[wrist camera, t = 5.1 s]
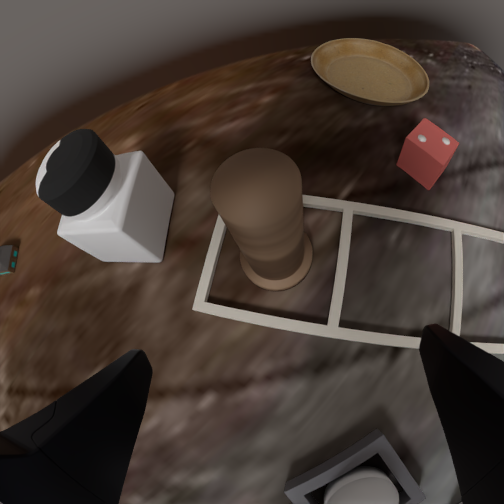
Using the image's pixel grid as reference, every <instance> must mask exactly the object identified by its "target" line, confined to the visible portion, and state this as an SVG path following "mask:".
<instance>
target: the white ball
mask: <svg viewBox="0 0 504 504" xmlns="http://www.w3.org/2000/svg"><path fill="white" fill-rule="evenodd" d="M324 504H399V494H398V491H397V489H396V487H395V486H394V484H393V483H392V481H391V480H390V479H389V477H388V476H387V474H386V473H385V472H384V471H382V470H381V469H379V468H376V467H373V466H358V467H355V468H353V469H352V470H350V471H348V472H347V473H345V474H343V475H341V476H340V477H338V478H336V479H334V480H333V481H331V482H330V483H329V484H328V486H327V487H326V489H325V492H324Z"/></svg>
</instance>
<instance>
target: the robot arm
mask: <svg viewBox="0 0 504 504" xmlns="http://www.w3.org/2000/svg"><path fill="white" fill-rule="evenodd" d="M419 351H420V355H421V359H422V362H423V366H424V370H425V373H426V377H427V381H428V385H429V389H430V392H431V395H432V398H433V401H434V403H435V406H436V409H437V412H438V415H439V418H440V421H441V424H442V427H443V430H444V433H445V436H446V439H447V443H448V446H449V449H450V453H451V456H452V460H453V464H454V467H455V471H456V475H457V479H458V483H459V488H460V492H461V496H462V497H461V498H462V503H463V504H504V362H503V361H502V360H500V359H498V358H496V357H495V356H493V355H491V354H490V353H488V352H486V351H484V350H483V349H481V348H479V347H477V346H476V345H474V344H472V343H470V342H468V341H467V340H465V339H463V338H461V337H460V336H458V335H456V334H454V333H452V332H451V331H449V330H447V329H445V328H443V327H442V326H440V325H438V324H431V325H426V326H425V327H424V329H423V333H422V337H421V341H420V346H419ZM151 378H152V367H151V365H150V362H149V360H148V358H147V356H146V354H145V352H144V351H143V350H138V349H132V350H130V351H129V352H127V353H126V354H124V355H123V356H121V357H120V358H118V359H117V360H115V361H114V362H112V363H111V364H110V365H108V366H107V367H105V368H104V369H102V370H101V371H99V372H98V373H96V374H95V375H93V376H92V377H90V378H89V379H87V380H86V381H84V382H83V383H81V384H80V385H78V386H77V387H75V388H74V389H72V390H71V391H69V392H68V393H66V394H65V395H63V396H62V397H60V398H59V399H57V401H54V402H53V403H51V404H50V405H48V406H47V407H45V408H44V409H42V410H40V411H39V412H37V413H35V414H34V415H32V416H30V417H28V418H26V419H25V420H23V421H21V422H19V423H17V424H15V425H13V426H11V427H10V428H8V429H6V430H4V431H1V432H0V504H119V500H120V496H121V492H122V488H123V484H124V481H125V477H126V473H127V470H128V466H129V463H130V459H131V455H132V452H133V449H134V445H135V442H136V438H137V435H138V432H139V428H140V425H141V422H142V419H143V415H144V412H145V408H146V403H147V398H148V393H149V388H150V383H151Z"/></svg>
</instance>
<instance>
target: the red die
mask: <svg viewBox="0 0 504 504" xmlns="http://www.w3.org/2000/svg"><path fill="white" fill-rule="evenodd" d="M458 145H459V143H458V142H457V141H456V140H455V139H453V138H452V137H451V136H449V135H448V134H447V133H446V132H444V131H443V130H441V129H440V128H439V127H437V126H436V125H435V124H433V123H432V122H430V121H429V120H427V119H426V118H424V119H423V120H422V121H421V122H420V123H419V124H418V125H417V127H416V128H415V129H414V130H413V131H412V132H411V133H410V134H409V135H408V136H407V137H406V139H405V142H404V145H403V148H402V150H401V153H400V156H399V159H398V161H397V164H396V165H397V166H398V167H400V168H401V169H402V170H404V171H405V172H406V173H407V174H409V175H410V176H411V177H413V178H414V179H415V180H416V181H418V182H419V183H420V184H421V185H422V186H424V187H425V188H426V189H427V190H428V191H429V190H430V189H431V187H432V186H433V185H434V183H435V182H436V181H437V179H438V178H439V177H440V175H441V174H442V172H443V171H444V170H445V168H446V166H447V165H448V163H449V161H450V159H451V158H452V156H453V154H454V152H455V150H456V149H457V147H458Z"/></svg>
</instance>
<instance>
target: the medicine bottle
mask: <svg viewBox="0 0 504 504" xmlns="http://www.w3.org/2000/svg"><path fill="white" fill-rule="evenodd" d="M36 191H37V195H38V197H39V198H40V199H41V200H43V201H44V202H45V203H47V204H48V205H50V206H51V207H52V208H54V209H55V210H57V211H58V212H59V213H61V214H62V217H61V221H60V224H59V227H58V231H57V233H58V235H59V236H60V237H62V238H64V239H65V240H67V241H69V242H70V243H72V244H74V245H75V246H77V247H79V248H80V249H82V250H84V251H86V252H87V253H89V254H91V255H93V256H94V257H96V258H98V259H100V260H101V261H104V262H161V261H162V260H163V254H164V248H165V242H166V237H167V231H168V226H169V220H170V215H171V210H172V205H173V200H174V192H173V191H172V190H171V188H170V187H169V186H168V184H167V183H166V182H165V180H164V179H163V178H162V177H161V175H160V174H159V173H158V171H157V170H156V169H155V167H154V166H153V165H152V163H151V162H150V161H149V159H148V158H147V157H146V155H145V154H144V153H143V152H142V151H135V152H130V153H125V154H120V155H116V156H115V155H114V154H113V153H112V152H111V151H110V149H109V148H108V147H107V146H106V145H105V144H104V142H103V141H102V140H101V139H100V138H99V137H98V135H97V134H96V133H95V132H94V131H93V130H90V129H79V130H76V131H73V132H71V133H69V134H68V135H66V136H65V137H63V138H62V139H61V140H60V141H58V142H57V143H56V144H55V145H54V146H53V147H52V148H51V150H50V151H49V152H48V154H47V155H46V157H45V158H44V160H43V162H42V164H41V166H40V168H39V171H38V174H37V177H36Z"/></svg>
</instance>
